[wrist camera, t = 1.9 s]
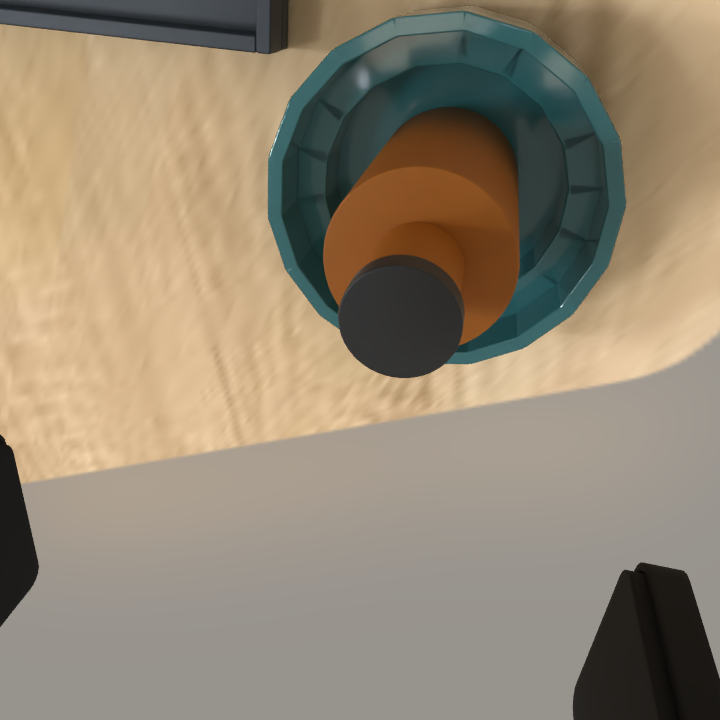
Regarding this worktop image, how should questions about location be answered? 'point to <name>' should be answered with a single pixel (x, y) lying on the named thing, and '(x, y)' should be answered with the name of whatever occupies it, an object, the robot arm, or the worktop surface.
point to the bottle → (426, 243)
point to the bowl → (481, 95)
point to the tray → (162, 20)
